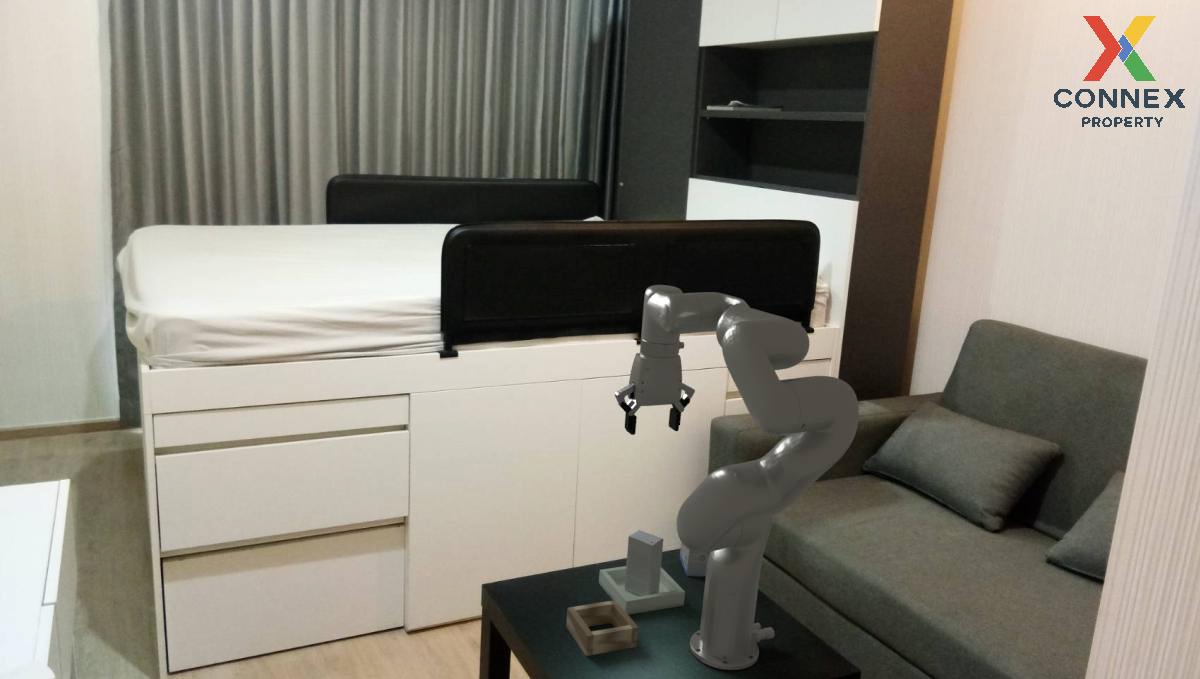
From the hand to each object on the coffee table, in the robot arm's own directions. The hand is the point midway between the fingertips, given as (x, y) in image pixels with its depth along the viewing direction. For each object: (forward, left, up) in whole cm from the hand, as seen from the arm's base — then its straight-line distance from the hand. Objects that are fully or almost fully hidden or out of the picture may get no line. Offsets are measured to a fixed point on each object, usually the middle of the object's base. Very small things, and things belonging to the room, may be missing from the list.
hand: (652, 430), depth 183 cm
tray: (+2, +5, -33) cm, 34 cm away
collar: (+16, +17, -33) cm, 41 cm away
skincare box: (+2, +5, -33) cm, 33 cm away
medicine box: (-14, -2, -34) cm, 36 cm away
